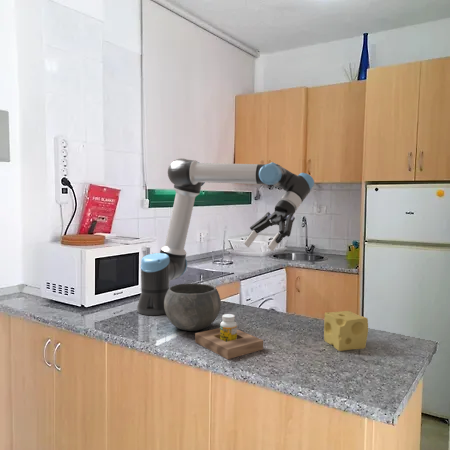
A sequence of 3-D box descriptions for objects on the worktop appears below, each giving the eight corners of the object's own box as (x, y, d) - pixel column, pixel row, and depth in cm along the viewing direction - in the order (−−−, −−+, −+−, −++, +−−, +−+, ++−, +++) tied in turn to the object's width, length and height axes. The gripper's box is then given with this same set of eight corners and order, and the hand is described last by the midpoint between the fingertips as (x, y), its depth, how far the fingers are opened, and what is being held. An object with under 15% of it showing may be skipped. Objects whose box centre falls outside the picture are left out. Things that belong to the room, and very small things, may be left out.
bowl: (152, 328, 154) (152, 287, 153) (195, 317, 169) (195, 279, 168) (188, 342, 140) (188, 297, 139) (231, 328, 154) (231, 288, 153)
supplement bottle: (240, 344, 137) (240, 315, 136) (228, 349, 133) (228, 319, 132) (228, 340, 140) (228, 312, 140) (216, 344, 137) (216, 315, 136)
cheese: (338, 351, 132) (339, 320, 132) (322, 340, 143) (322, 311, 142) (367, 348, 135) (368, 318, 134) (349, 337, 145) (350, 309, 145)
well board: (195, 342, 140) (195, 333, 139) (228, 334, 148) (228, 325, 148) (227, 359, 125) (227, 349, 125) (263, 349, 134) (263, 340, 133)
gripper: (316, 213, 156) (286, 257, 148) (270, 211, 176) (242, 249, 168) (307, 199, 152) (275, 243, 144) (261, 198, 172) (231, 237, 164)
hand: (257, 246), depth 156 cm, fingers open, 13 cm apart
